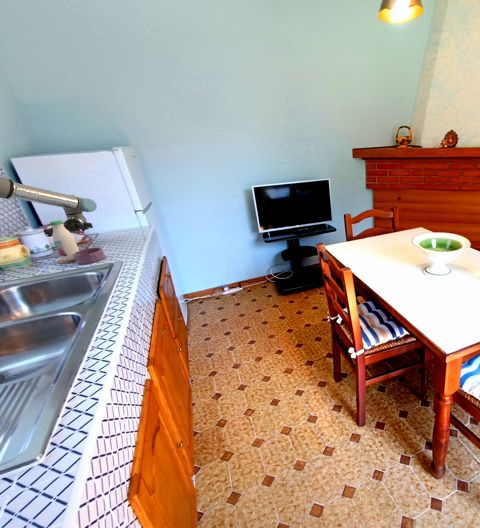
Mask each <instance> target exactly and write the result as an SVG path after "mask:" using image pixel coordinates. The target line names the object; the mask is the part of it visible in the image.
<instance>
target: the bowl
mask: <svg viewBox="0 0 480 528" xmlns="http://www.w3.org/2000/svg"><path fill="white" fill-rule="evenodd" d="M73 256H74V258H75V261H76V262H75V263H76V264H79V265H88V264H89V265H90V264H94V263H97V262H100V261H102V260H104V259H105V258H106V253H105V251H104V248H103V247H99V246H98V247H90V248H89V247H88V248H85V249H81V250H79V251H78V252H75V253H74V254H73Z"/></svg>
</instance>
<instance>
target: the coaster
mask: <svg viewBox="0 0 480 528" xmlns="http://www.w3.org/2000/svg"><path fill="white" fill-rule="evenodd" d="M57 263H58V264H59V265H68V264H72V263H76V261H75V260H71V261H63V260H62V259H59V260H58V261H57Z"/></svg>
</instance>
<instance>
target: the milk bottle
mask: <svg viewBox="0 0 480 528" xmlns="http://www.w3.org/2000/svg"><path fill="white" fill-rule="evenodd" d="M49 225H50V228H52V227H53V235H52V241H53V243H54V245H55V248H56V250H57V252H58V255H59V257H60V260H63V261H71V260H75V258H74V256H73V254H74V253H75V252H78V251H80V249H79V247H78V244H77V242H76V240H75V237H74V236H73V234H72V232H71V231H68V230H67V229H66V228H65V227H64V226H63V225H64V222H63V220H60V219H59V220H53V221H50V222H49Z"/></svg>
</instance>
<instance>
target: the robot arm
mask: <svg viewBox="0 0 480 528" xmlns="http://www.w3.org/2000/svg"><path fill="white" fill-rule="evenodd" d="M0 199H6V200H10V199H16V200H21V201H27V202H30V203H31V202H32V203H37V204H41V205H48V206H53V207H57V208H62V209H63V211H64V214H65V216H66V220H65V221H64V222H63V224H64V225H63V226H64V227H65V228H66V229H67V230H68V231H69V232H70V233H75V232H76V233H77V232H79V231H81V232H82V233H84V232H85V231H86V230H89V229H94V226H93V223H92V222H87V218H86V216H84V213H92V212H95V211H96V210H97V207H98V205H97V203H96V201H95V200H94V199H91V198H87V197H86V198H85V197H79V196H76V195H75V194H66V193H62V192H57V191H53V190H48V189H44V188H39V187H35V186H32V185H27V184H22V183H18V182H15V181H14V180H13V179H10V178H6V177H2V176H0ZM42 231H43V233H44V235H45V236H48V238H51V237H53V227H49V228H46V229H43V230H42Z"/></svg>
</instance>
